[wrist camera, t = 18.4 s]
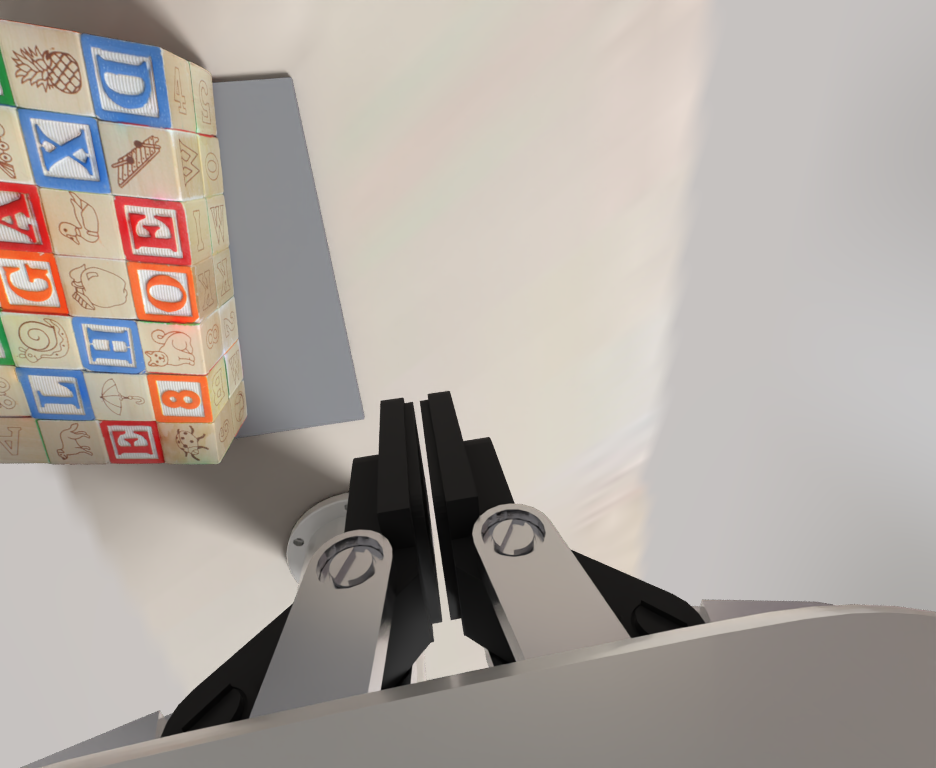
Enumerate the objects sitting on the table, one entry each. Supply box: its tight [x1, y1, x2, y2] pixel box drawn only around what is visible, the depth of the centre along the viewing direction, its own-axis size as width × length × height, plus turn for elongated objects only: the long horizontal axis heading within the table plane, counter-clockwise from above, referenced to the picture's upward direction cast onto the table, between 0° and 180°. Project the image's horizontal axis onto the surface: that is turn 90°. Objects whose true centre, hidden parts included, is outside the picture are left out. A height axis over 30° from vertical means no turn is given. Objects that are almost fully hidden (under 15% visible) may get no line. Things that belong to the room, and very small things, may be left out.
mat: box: [212, 77, 365, 439], centre depth 29 cm, size 22×16×1 cm
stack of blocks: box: [0, 19, 247, 465], centre depth 25 cm, size 21×6×12 cm
